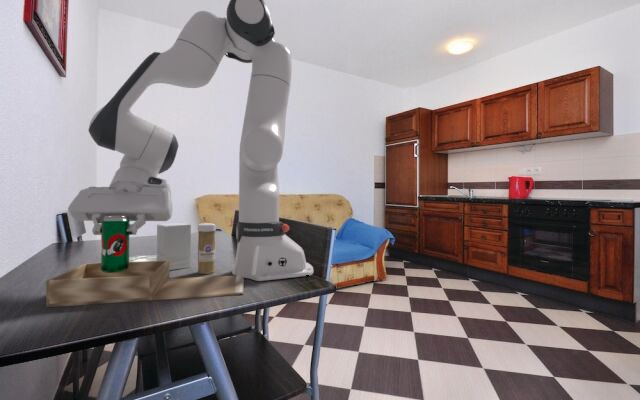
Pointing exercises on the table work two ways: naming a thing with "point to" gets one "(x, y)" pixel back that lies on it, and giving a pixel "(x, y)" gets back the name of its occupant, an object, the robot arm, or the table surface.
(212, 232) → the sprinkles bottle
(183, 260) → the supplement box
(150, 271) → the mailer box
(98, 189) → the robot arm
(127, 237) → the soda can
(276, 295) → the table surface
